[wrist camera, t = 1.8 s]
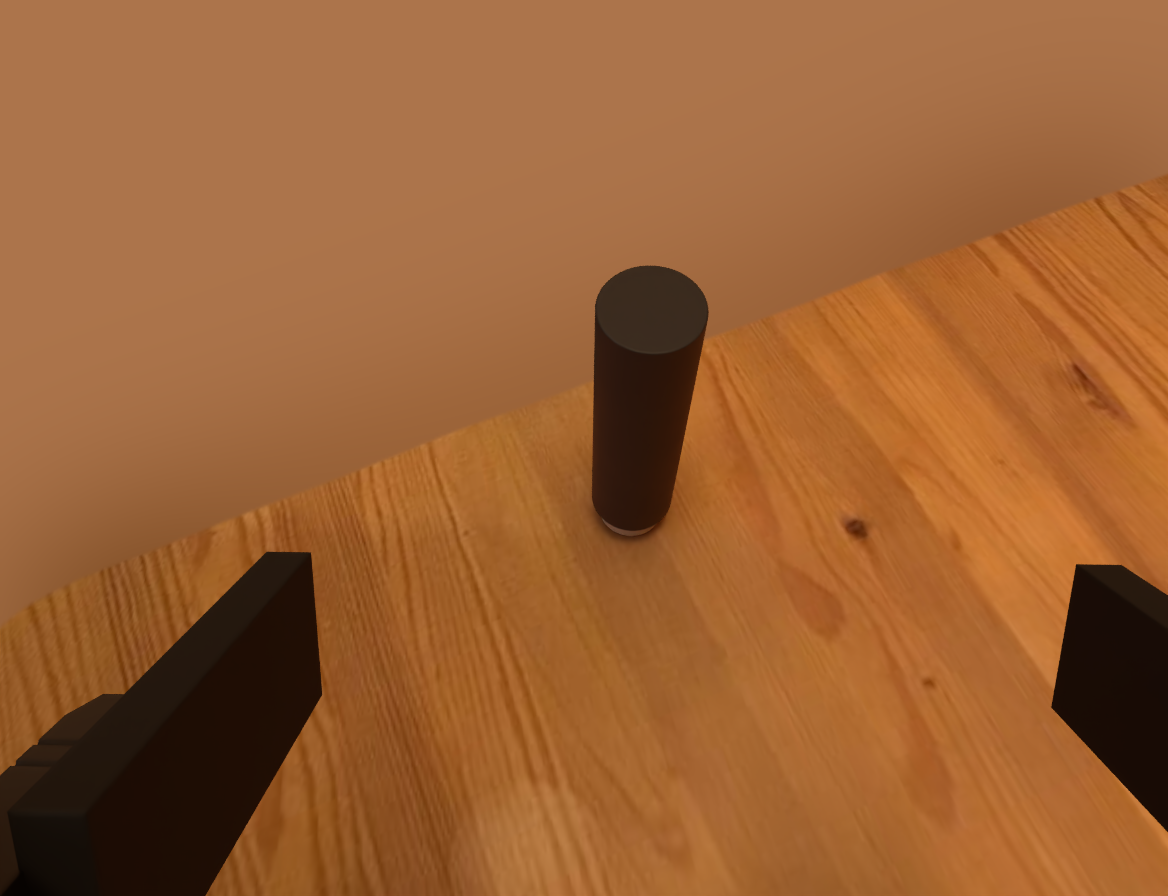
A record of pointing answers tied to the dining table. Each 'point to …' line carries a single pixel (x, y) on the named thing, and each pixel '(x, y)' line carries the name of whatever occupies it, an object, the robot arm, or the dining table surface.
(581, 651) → the dining table surface
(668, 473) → the dark brown cylinder
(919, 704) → the dining table surface
